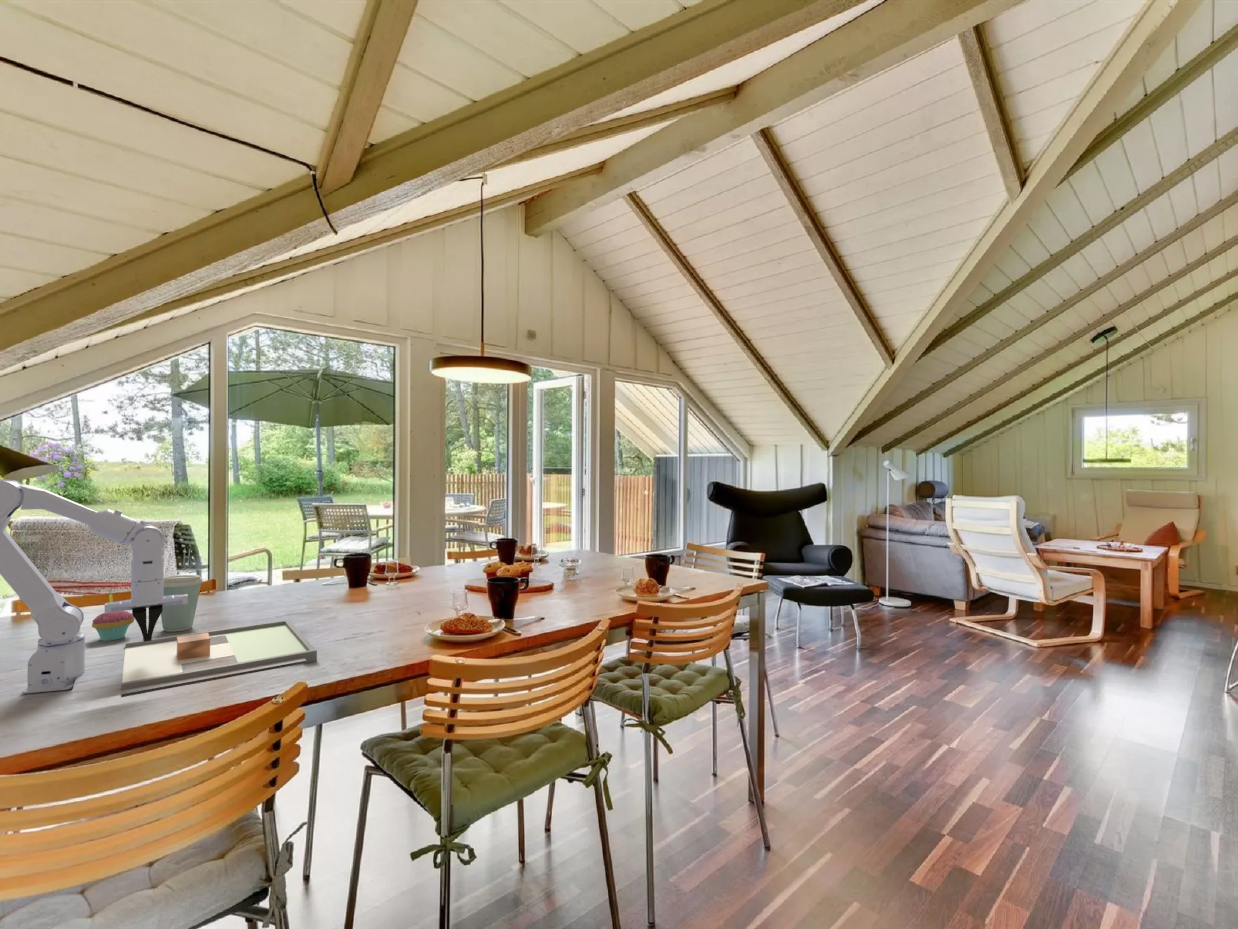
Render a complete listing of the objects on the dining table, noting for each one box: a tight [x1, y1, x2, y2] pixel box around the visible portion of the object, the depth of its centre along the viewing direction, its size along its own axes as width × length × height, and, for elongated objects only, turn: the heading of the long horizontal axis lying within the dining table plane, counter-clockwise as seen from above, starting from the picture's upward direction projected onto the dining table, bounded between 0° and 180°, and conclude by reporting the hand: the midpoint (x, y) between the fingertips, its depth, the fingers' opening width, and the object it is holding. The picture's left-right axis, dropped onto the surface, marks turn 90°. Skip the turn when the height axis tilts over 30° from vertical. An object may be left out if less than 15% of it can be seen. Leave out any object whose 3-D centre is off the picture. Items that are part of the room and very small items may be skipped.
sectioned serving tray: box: [120, 619, 318, 698], centre depth 141 cm, size 35×34×2 cm
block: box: [177, 633, 211, 661], centre depth 138 cm, size 6×6×4 cm
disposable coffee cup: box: [160, 574, 204, 633], centre depth 164 cm, size 11×11×15 cm
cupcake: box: [91, 591, 135, 642], centre depth 155 cm, size 9×8×12 cm
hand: (147, 640), depth 133 cm, fingers closed
